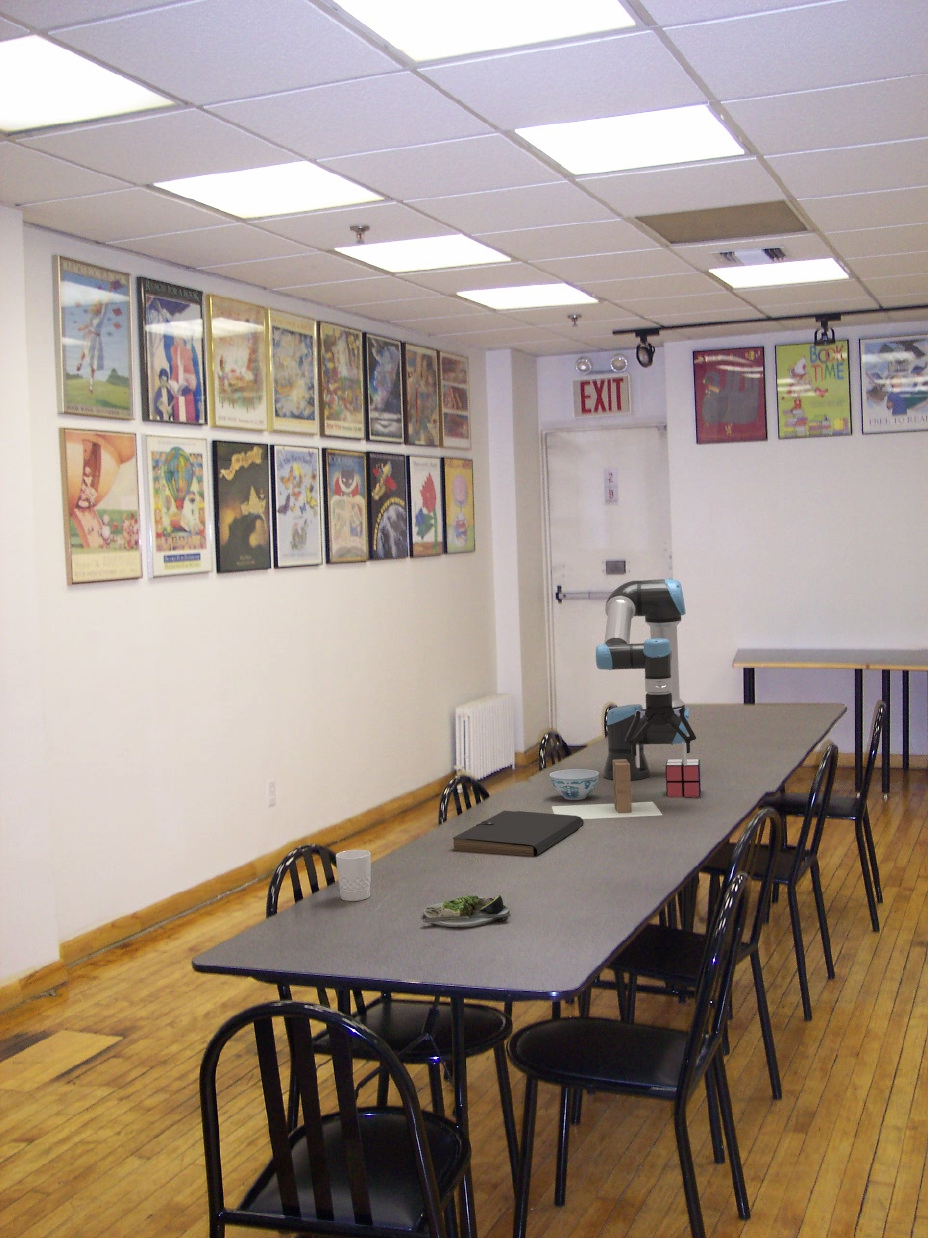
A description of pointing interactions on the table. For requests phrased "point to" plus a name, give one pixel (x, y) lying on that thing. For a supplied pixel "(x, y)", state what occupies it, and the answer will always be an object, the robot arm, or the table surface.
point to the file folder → (517, 833)
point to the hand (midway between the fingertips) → (661, 766)
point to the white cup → (354, 874)
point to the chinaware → (574, 782)
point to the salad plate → (467, 912)
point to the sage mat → (607, 810)
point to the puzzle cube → (683, 778)
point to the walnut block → (622, 786)
